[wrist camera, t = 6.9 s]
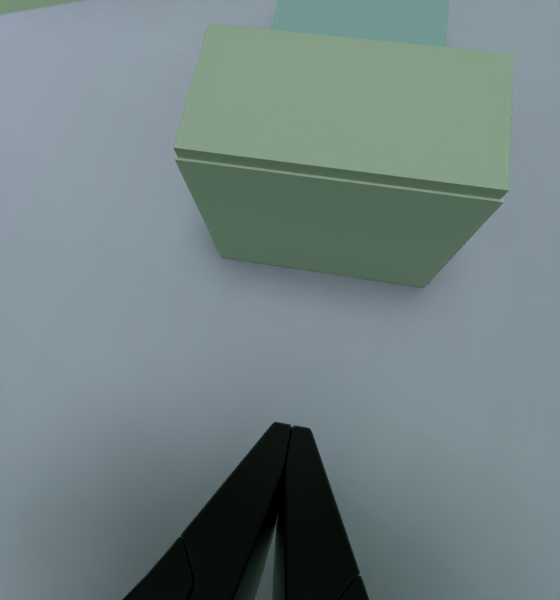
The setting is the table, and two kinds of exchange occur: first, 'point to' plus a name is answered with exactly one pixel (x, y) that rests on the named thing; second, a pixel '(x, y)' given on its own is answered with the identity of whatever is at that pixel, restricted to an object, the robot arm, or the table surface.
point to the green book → (345, 150)
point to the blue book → (367, 19)
